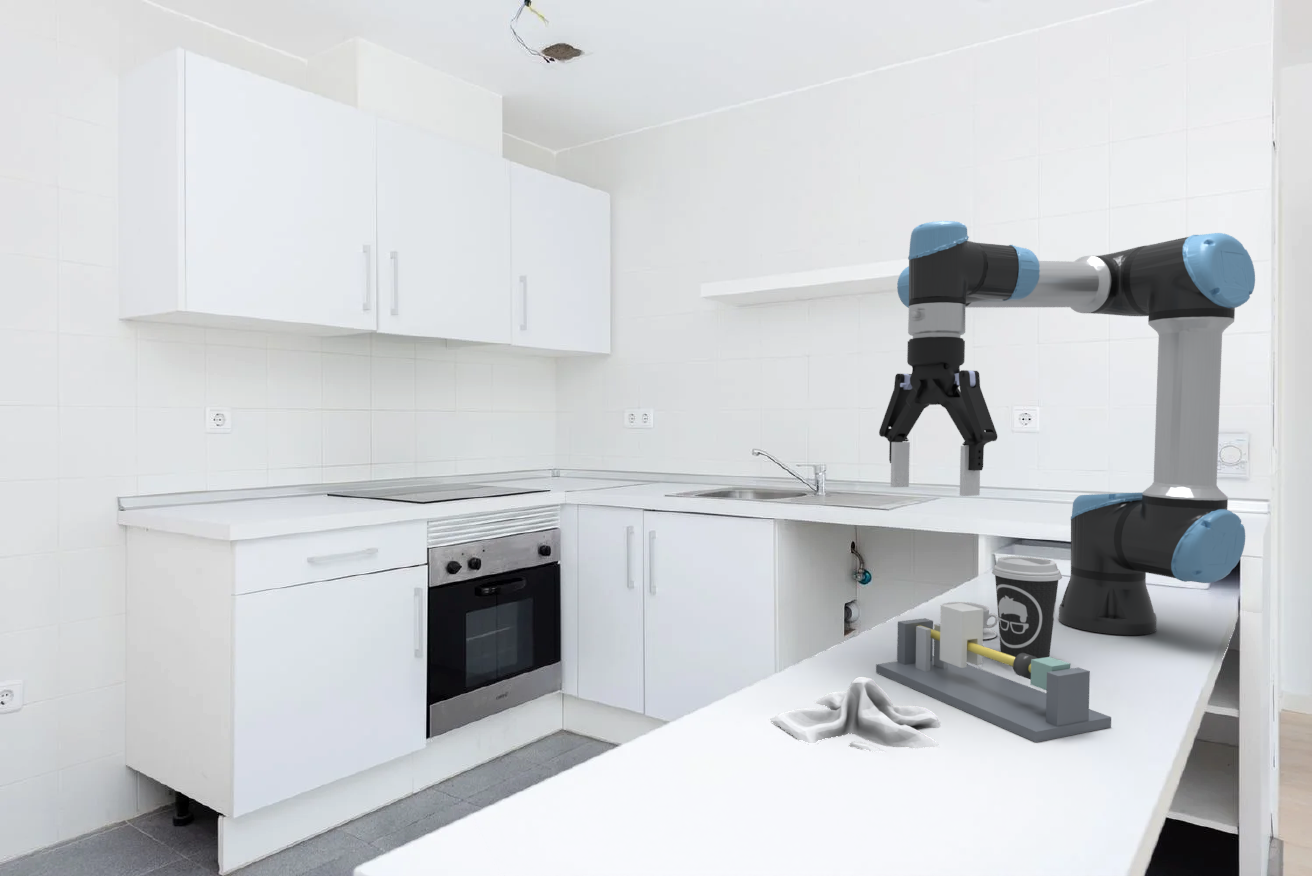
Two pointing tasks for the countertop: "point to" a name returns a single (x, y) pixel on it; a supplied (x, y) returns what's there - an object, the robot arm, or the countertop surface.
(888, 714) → the cloth
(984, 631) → the teacup
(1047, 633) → the coffee cup
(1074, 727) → the linear slide fixture
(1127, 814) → the countertop surface
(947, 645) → the white rectangular block
